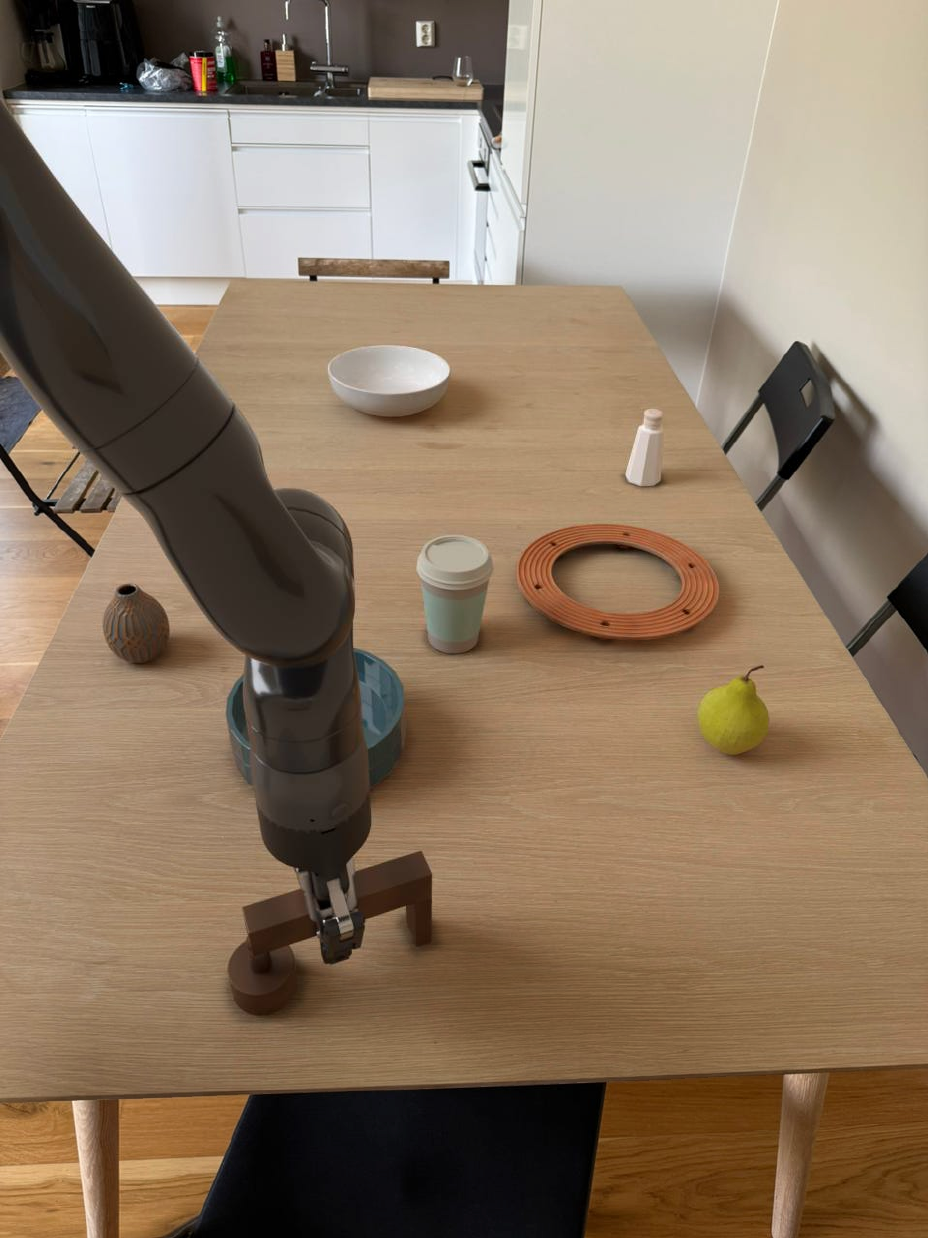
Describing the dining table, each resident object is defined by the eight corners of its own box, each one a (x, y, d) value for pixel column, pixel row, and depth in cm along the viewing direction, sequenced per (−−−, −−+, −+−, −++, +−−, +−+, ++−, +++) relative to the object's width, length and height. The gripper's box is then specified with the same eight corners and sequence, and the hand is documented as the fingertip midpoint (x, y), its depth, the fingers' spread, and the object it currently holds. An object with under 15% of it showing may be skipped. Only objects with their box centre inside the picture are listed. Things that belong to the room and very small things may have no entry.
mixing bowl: (254, 830, 82) (246, 785, 78) (219, 708, 94) (211, 665, 90) (429, 779, 87) (429, 735, 83) (374, 671, 100) (373, 629, 96)
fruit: (681, 724, 94) (703, 636, 87) (740, 716, 95) (766, 628, 88) (709, 772, 89) (735, 682, 82) (771, 762, 90) (802, 673, 83)
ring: (485, 554, 119) (485, 539, 117) (649, 523, 126) (652, 508, 125) (569, 672, 100) (571, 655, 99) (756, 627, 108) (761, 611, 106)
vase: (112, 637, 103) (95, 574, 98) (174, 629, 104) (161, 568, 99) (108, 675, 98) (90, 612, 92) (173, 667, 99) (159, 604, 94)
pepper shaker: (639, 490, 134) (650, 422, 127) (618, 474, 138) (628, 407, 131) (667, 482, 136) (680, 415, 129) (646, 467, 140) (657, 401, 133)
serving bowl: (357, 440, 144) (355, 400, 140) (313, 392, 159) (310, 354, 154) (470, 418, 152) (472, 379, 148) (418, 373, 167) (418, 337, 162)
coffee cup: (503, 633, 106) (509, 548, 98) (462, 671, 100) (465, 584, 93) (444, 607, 109) (445, 523, 102) (402, 643, 104) (400, 557, 96)
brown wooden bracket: (239, 1025, 67) (223, 959, 62) (227, 968, 71) (210, 901, 65) (437, 954, 72) (438, 887, 67) (416, 905, 76) (415, 837, 70)
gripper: (233, 724, 62) (260, 875, 73) (281, 885, 52) (304, 1033, 63) (337, 698, 65) (348, 848, 75) (402, 847, 54) (405, 996, 65)
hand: (328, 931), depth 69 cm, fingers open, 4 cm apart
